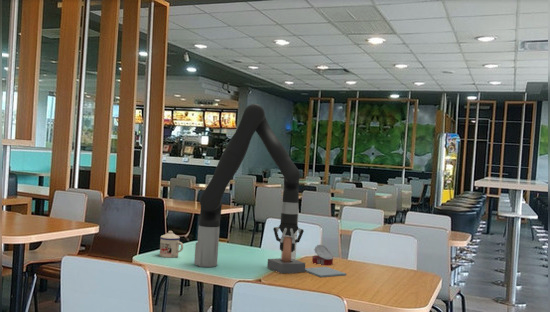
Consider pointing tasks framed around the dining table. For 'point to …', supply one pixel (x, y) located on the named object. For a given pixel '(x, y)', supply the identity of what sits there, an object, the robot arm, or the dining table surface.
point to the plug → (287, 249)
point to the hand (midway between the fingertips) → (287, 251)
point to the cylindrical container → (293, 254)
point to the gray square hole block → (286, 266)
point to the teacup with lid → (170, 245)
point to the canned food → (322, 256)
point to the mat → (324, 272)
